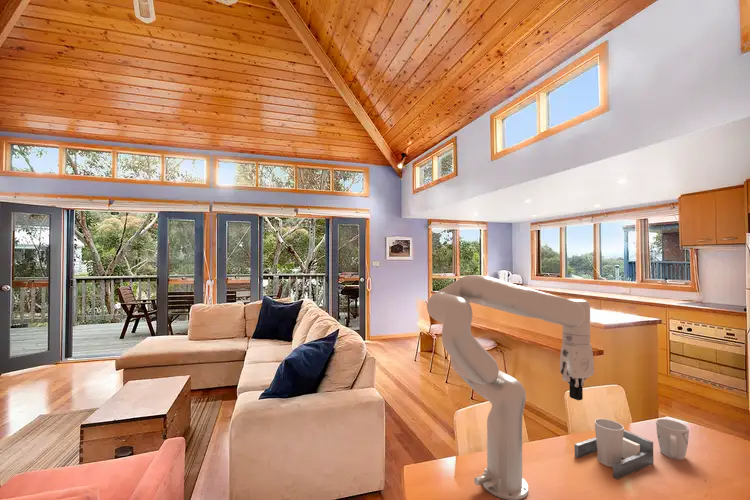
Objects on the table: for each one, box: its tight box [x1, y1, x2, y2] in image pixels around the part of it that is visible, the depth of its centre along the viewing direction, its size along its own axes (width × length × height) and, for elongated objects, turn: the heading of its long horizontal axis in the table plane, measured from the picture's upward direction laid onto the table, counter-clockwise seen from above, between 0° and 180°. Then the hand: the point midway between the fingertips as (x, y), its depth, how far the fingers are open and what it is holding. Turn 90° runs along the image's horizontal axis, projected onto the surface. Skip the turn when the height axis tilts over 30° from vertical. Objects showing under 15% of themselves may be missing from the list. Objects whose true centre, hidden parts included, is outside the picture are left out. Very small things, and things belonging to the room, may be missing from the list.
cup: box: [594, 418, 625, 468], centre depth 113 cm, size 8×8×12 cm
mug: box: [655, 418, 690, 460], centre depth 116 cm, size 11×8×10 cm
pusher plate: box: [621, 437, 640, 459], centre depth 116 cm, size 2×10×6 cm, turn 25°
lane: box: [574, 429, 655, 480], centre depth 114 cm, size 19×13×7 cm
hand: (575, 398), depth 108 cm, fingers closed
